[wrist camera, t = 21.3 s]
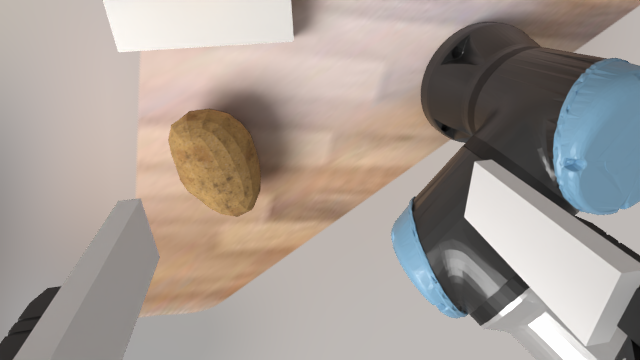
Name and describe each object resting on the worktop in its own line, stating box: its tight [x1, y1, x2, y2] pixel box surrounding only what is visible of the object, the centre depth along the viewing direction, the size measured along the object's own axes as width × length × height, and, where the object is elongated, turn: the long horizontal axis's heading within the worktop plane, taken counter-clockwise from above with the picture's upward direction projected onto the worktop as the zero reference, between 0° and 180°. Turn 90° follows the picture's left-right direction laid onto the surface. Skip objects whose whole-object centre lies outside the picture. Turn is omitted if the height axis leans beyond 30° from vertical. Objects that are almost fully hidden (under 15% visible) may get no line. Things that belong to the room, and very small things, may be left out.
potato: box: [168, 109, 261, 217], centre depth 42 cm, size 10×14×8 cm
